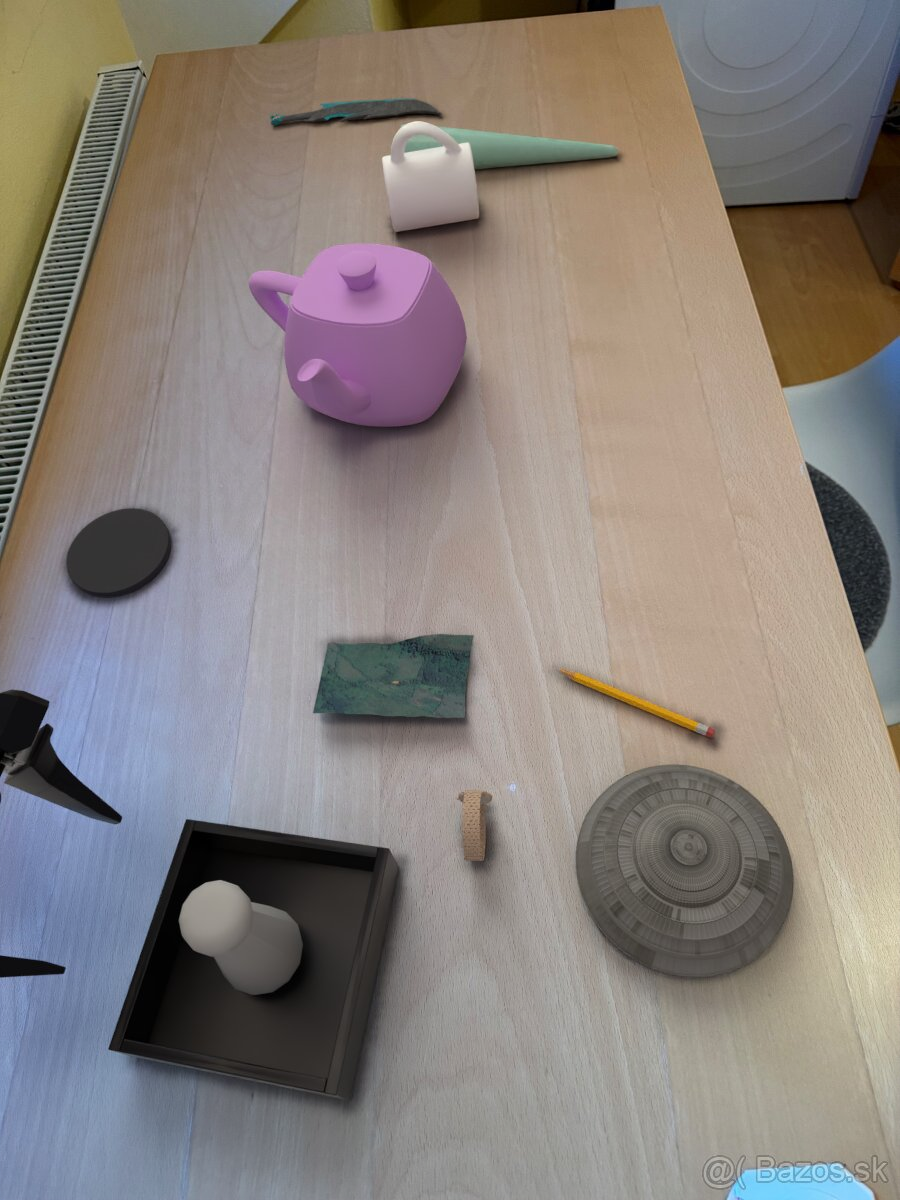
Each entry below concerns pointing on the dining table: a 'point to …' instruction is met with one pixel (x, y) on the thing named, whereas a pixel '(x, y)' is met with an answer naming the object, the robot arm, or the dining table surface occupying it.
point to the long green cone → (514, 148)
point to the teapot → (367, 333)
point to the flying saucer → (684, 870)
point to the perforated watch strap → (474, 823)
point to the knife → (361, 110)
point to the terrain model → (397, 677)
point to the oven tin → (299, 1007)
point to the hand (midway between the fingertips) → (92, 892)
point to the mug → (429, 180)
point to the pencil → (639, 703)
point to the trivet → (118, 552)
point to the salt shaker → (242, 937)
